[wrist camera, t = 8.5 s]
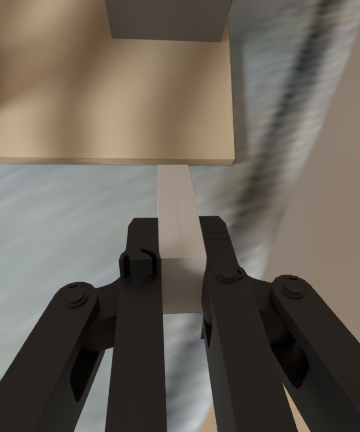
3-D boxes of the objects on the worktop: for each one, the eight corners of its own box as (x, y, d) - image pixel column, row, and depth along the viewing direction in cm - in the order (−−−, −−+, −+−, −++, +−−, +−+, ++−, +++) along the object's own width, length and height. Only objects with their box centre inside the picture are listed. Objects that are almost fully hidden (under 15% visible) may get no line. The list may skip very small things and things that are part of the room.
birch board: (-61, 163, 20) (-76, 155, 19) (-32, -94, 23) (-43, -116, 22) (230, 165, 21) (235, 158, 20) (219, -79, 24) (223, -98, 23)
